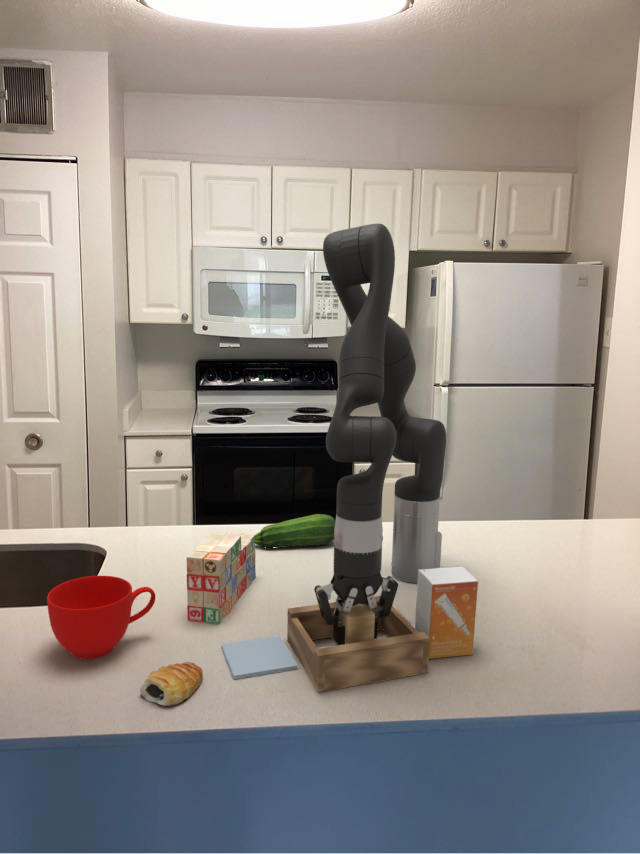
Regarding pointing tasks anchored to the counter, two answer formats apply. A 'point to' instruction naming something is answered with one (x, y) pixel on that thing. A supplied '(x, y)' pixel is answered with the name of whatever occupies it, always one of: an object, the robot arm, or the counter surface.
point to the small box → (447, 610)
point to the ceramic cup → (93, 613)
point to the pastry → (172, 683)
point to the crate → (356, 650)
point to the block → (359, 625)
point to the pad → (258, 657)
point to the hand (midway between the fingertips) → (355, 642)
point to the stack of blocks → (219, 575)
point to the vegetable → (298, 532)
